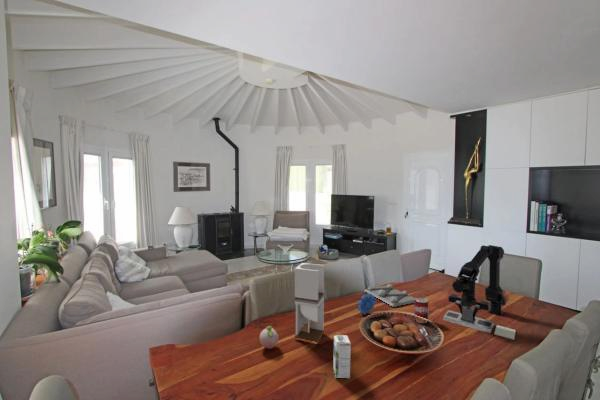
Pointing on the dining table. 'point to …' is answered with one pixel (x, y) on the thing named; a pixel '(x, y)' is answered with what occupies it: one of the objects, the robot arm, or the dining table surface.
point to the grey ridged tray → (391, 295)
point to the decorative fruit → (268, 337)
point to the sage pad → (505, 332)
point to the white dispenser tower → (309, 301)
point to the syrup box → (341, 356)
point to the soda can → (421, 307)
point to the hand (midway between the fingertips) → (468, 317)
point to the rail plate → (478, 322)
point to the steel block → (468, 314)
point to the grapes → (366, 303)
